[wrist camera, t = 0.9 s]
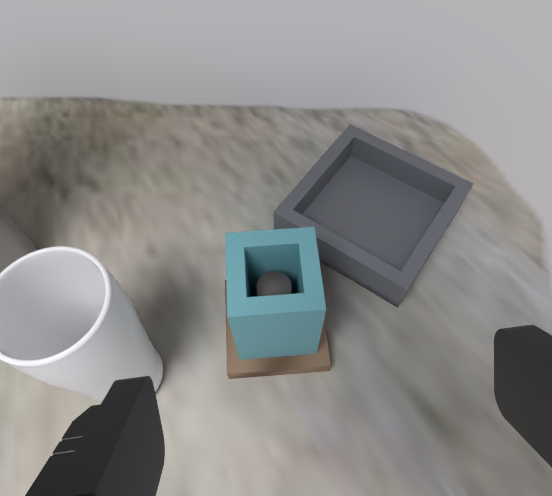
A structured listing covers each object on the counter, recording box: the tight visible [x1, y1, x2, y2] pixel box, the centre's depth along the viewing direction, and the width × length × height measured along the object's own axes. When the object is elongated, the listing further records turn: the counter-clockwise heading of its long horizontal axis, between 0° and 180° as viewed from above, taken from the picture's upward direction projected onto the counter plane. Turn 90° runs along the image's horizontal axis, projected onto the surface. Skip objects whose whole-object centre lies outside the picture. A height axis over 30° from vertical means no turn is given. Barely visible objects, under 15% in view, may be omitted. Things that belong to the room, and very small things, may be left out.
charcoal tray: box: [274, 125, 473, 307], centre depth 41 cm, size 13×13×4 cm
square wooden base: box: [225, 271, 331, 379], centre depth 34 cm, size 8×8×8 cm
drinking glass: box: [0, 246, 163, 402], centre depth 29 cm, size 7×7×15 cm
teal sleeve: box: [225, 227, 326, 360], centre depth 33 cm, size 6×8×9 cm
